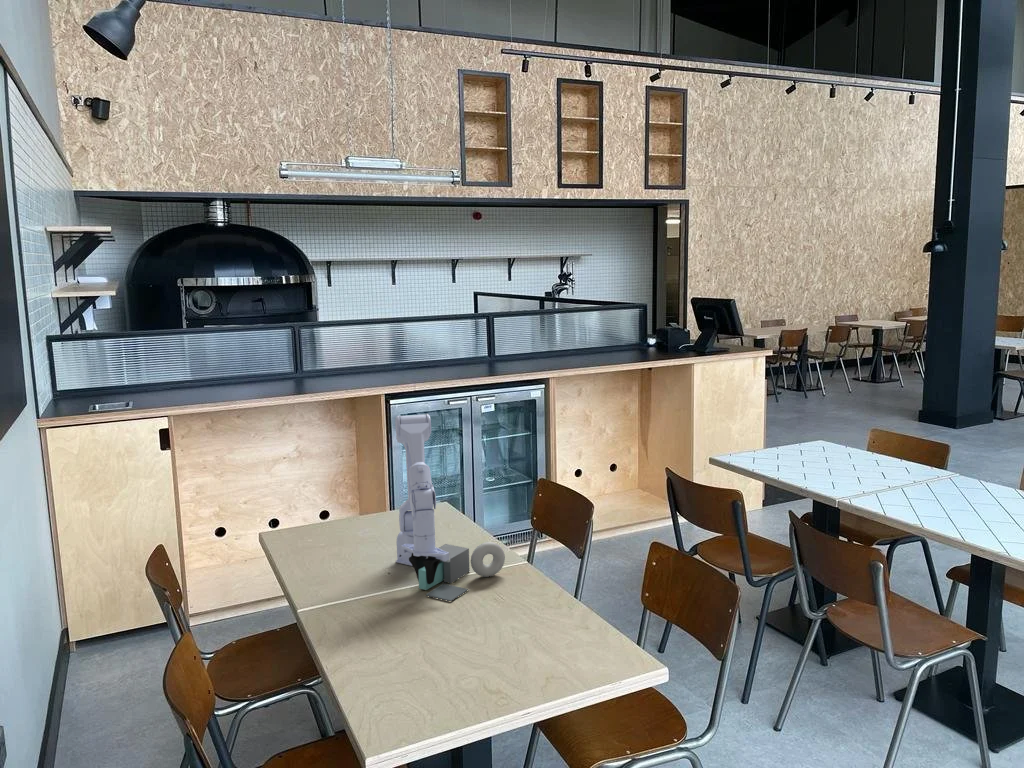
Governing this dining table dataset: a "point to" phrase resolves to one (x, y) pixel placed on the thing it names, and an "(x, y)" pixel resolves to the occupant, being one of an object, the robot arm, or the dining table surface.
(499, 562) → the donut
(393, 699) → the dining table surface
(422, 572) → the tall teal prism
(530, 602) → the dining table surface
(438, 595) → the coaster
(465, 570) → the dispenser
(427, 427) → the robot arm
